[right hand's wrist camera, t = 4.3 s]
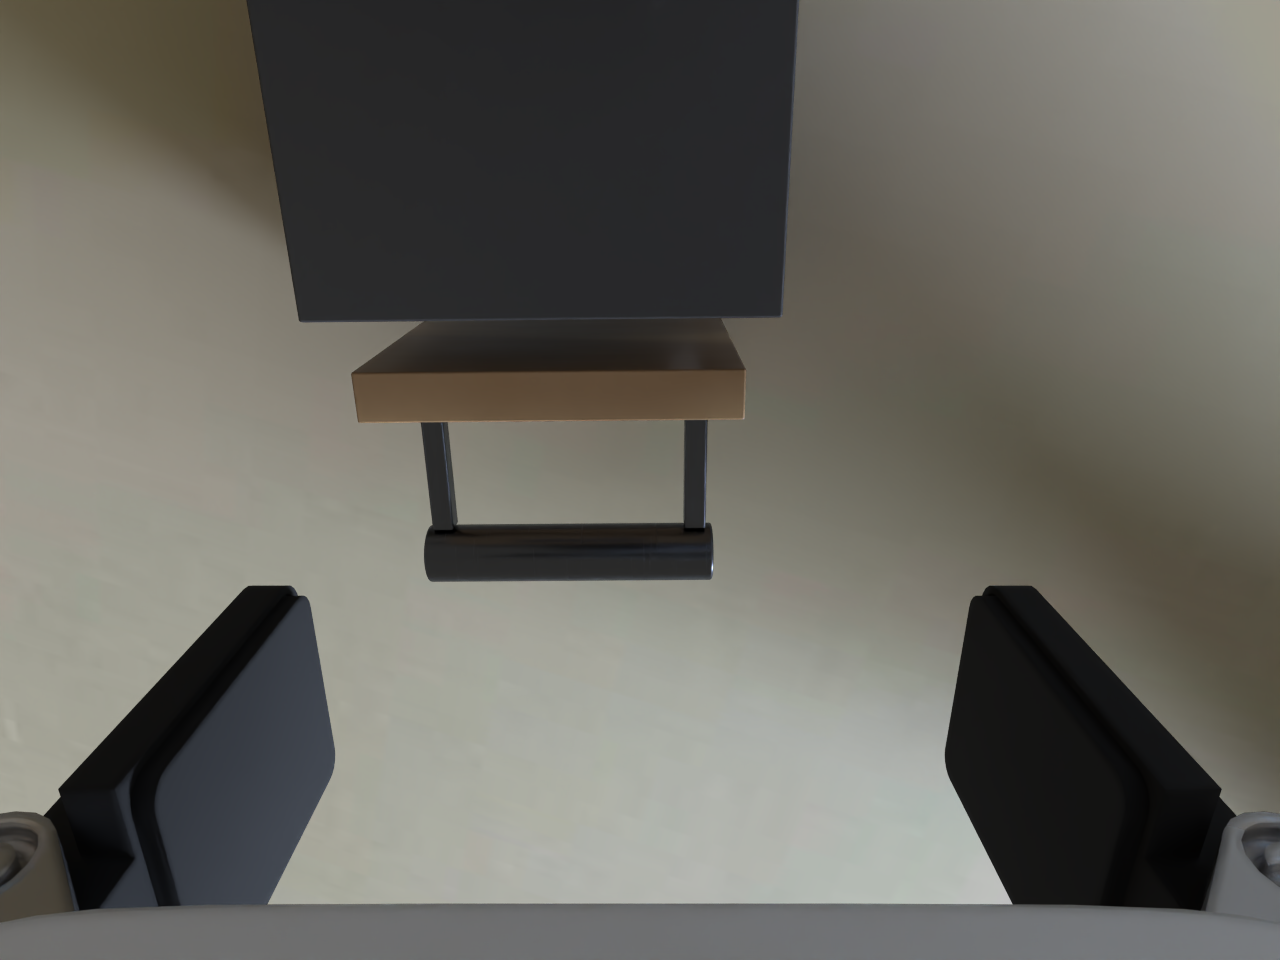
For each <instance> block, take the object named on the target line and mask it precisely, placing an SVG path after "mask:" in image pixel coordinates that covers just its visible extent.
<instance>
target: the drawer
mask: <svg viewBox="0 0 1280 960" xmlns="http://www.w3.org/2000/svg"><path fill="white" fill-rule="evenodd" d="M351 376H352V383H353V390H354V397H355V404H356V411H357V418H358V422H359V423H401V422H421V428H422V436H423V445H424V454H425V462H426V471H427V480H428V489H429V497H430V506H431V515H432V524H433V525H432V526H430V527H429V529H428V531H427V535H426V539H425V546H424V563H425V570H426V574H427V577H428V579H429V580H430V581H432V582H461V581H599V580H710V579H711V578H712V575H713V533H712V526H711V524H710V523H705V522H706V472H707V422H708V420H732V419H744V417H745V390H746V369H745V367H744V365H743V363H742V361H741V359H740V357H739V355H738V353H737V351H736V349H735V347H734V344H733V342H732V340H731V338H730V336H729V334H728V332H727V330H726V328H725V326H724V324H723V322H722V320H721V318H677V319H579V320H481V321H424V322H422V323H421V324H420V325H418V326H417V327H415V328H414V329H413V330H411V331H410V332H408V333H407V334H406V335H404V336H403V337H401V338H400V339H399V340H397V341H396V342H394V343H393V344H392V345H390V346H389V347H387V348H386V349H385V350H383V351H382V352H380V353H379V354H378V355H376V356H375V357H373V358H372V359H371V360H369V361H368V362H366V363H365V364H364V365H362V366H361V367H359V368H358V369H357V370H355V371H354V372H352V374H351ZM622 420H684V511H683V521H684V523H602V524H475V525H456V524H457V522H458V520H457V510H456V500H455V490H454V481H453V471H452V461H451V451H450V441H449V432H448V422H511V421H622Z"/></svg>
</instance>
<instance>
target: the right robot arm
mask: <svg viewBox="0 0 1280 960" xmlns="http://www.w3.org/2000/svg"><path fill="white" fill-rule="evenodd" d="M334 763H335V748H334V742H333V736H332V730H331V724H330V718H329V712H328V706H327V701H326V695H325V689H324V683H323V677H322V671H321V665H320V660H319V654H318V648H317V642H316V636H315V630H314V624H313V618H312V613H311V607H310V603H309V600H308V599H307V597H305V596H298V595H297V592H296V591H295V589H294V588H293V587H292V586H248V587H246V588H245V589H244V590H243V591H242V592H241V593H240V594H239V595H238V596H237V597H236V598H235V599H234V600H233V601H232V603H231V604H230V605H229V606H228V607H227V608H226V609H225V610H224V611H223V612H222V613H221V614H220V615H219V617H218V618H217V619H216V620H215V621H214V622H213V623H212V624H211V625H210V626H209V627H208V628H207V629H206V631H205V632H204V633H203V634H202V635H201V636H200V637H199V638H198V639H197V640H196V641H195V642H194V643H193V645H192V646H191V647H190V648H189V649H188V650H187V651H186V652H185V653H184V654H183V655H182V656H181V657H180V659H179V660H178V661H177V662H176V663H175V664H174V665H173V666H172V667H171V668H170V669H169V670H168V671H167V673H166V674H165V675H164V676H163V677H162V678H161V679H160V680H159V681H158V682H157V683H156V684H155V686H154V687H153V688H152V689H151V690H150V691H149V692H148V693H147V694H146V695H145V696H144V697H143V698H142V700H141V701H140V702H139V703H138V704H137V705H136V706H135V707H134V708H133V709H132V710H131V711H130V712H129V714H128V715H127V716H126V717H125V718H124V719H123V720H122V721H121V722H120V723H119V724H118V725H117V726H116V728H115V729H114V730H113V731H112V732H111V733H110V734H109V735H108V736H107V737H106V738H105V739H104V740H103V742H102V743H101V744H100V745H99V746H98V747H97V748H96V749H95V750H94V751H93V752H92V753H91V754H90V756H89V757H88V758H87V759H86V760H85V761H84V762H83V763H82V764H81V765H80V766H79V767H78V768H77V770H76V771H75V772H74V773H73V774H72V775H71V776H70V777H69V778H68V779H67V780H66V781H65V782H64V784H63V785H62V786H61V787H60V788H59V789H58V790H59V793H60V796H61V797H60V798H59V799H58V800H57V802H56V803H55V804H54V805H53V806H52V807H51V808H50V809H49V810H48V811H47V813H46V814H45V815H44V816H42V815H40V814H37V813H32V812H18V811H15V812H8V813H2V814H0V960H1280V814H1278V813H1272V812H1265V811H1262V812H1248V813H1243V814H1240V815H1238V816H1236V815H1235V814H1234V813H1233V811H1232V810H1231V809H1230V808H1229V807H1228V806H1227V805H1226V804H1225V803H1224V802H1223V800H1222V799H1221V798H1220V797H1219V796H1220V793H1221V790H1222V789H1221V788H1220V787H1219V786H1218V785H1217V784H1216V782H1215V781H1214V780H1213V779H1212V778H1211V777H1210V776H1209V775H1208V774H1207V773H1206V772H1205V771H1204V770H1203V768H1202V767H1201V766H1200V765H1199V764H1198V763H1197V762H1196V761H1195V760H1194V759H1193V758H1192V757H1191V756H1190V754H1189V753H1188V752H1187V751H1186V750H1185V749H1184V748H1183V747H1182V746H1181V745H1180V744H1179V743H1178V742H1177V740H1176V739H1175V738H1174V737H1173V736H1172V735H1171V734H1170V733H1169V732H1168V731H1167V730H1166V729H1165V728H1164V726H1163V725H1162V724H1161V723H1160V722H1159V721H1158V720H1157V719H1156V718H1155V717H1154V716H1153V715H1152V714H1151V712H1150V711H1149V710H1148V709H1147V708H1146V707H1145V706H1144V705H1143V704H1142V703H1141V702H1140V701H1139V700H1138V698H1137V697H1136V696H1135V695H1134V694H1133V693H1132V692H1131V691H1130V690H1129V689H1128V688H1127V687H1126V686H1125V684H1124V683H1123V682H1122V681H1121V680H1120V679H1119V678H1118V677H1117V676H1116V675H1115V674H1114V673H1113V672H1112V670H1111V669H1110V668H1109V667H1108V666H1107V665H1106V664H1105V663H1104V662H1103V661H1102V660H1101V659H1100V657H1099V656H1098V655H1097V654H1096V653H1095V652H1094V651H1093V650H1092V649H1091V648H1090V647H1089V646H1088V645H1087V643H1086V642H1085V641H1084V640H1083V639H1082V638H1081V637H1080V636H1079V635H1078V634H1077V633H1076V632H1075V631H1074V629H1073V628H1072V627H1071V626H1070V625H1069V624H1068V623H1067V622H1066V621H1065V620H1064V619H1063V618H1062V617H1061V615H1060V614H1059V613H1058V612H1057V611H1056V610H1055V609H1054V608H1053V607H1052V606H1051V605H1050V604H1049V603H1048V601H1047V600H1046V599H1045V598H1044V597H1043V596H1042V595H1041V594H1040V593H1039V592H1038V591H1037V590H1036V589H1035V588H1034V587H1032V586H988V587H987V588H986V589H985V591H984V592H983V595H982V596H975V597H973V599H972V600H971V603H970V607H969V613H968V618H967V624H966V630H965V636H964V642H963V648H962V654H961V659H960V665H959V671H958V677H957V683H956V689H955V695H954V701H953V706H952V712H951V718H950V724H949V730H948V736H947V742H946V748H945V763H946V769H947V773H948V776H949V778H950V780H951V782H952V784H953V786H954V788H955V790H956V792H957V794H958V796H959V798H960V800H961V802H962V804H963V806H964V808H965V810H966V812H967V814H968V816H969V818H970V820H971V822H972V824H973V826H974V828H975V830H976V832H977V834H978V836H979V838H980V840H981V842H982V844H983V846H984V848H985V850H986V852H987V854H988V856H989V858H990V860H991V862H992V864H993V866H994V868H995V870H996V872H997V874H998V876H999V878H1000V880H1001V882H1002V884H1003V886H1004V888H1005V890H1006V892H1007V894H1008V896H1009V898H1010V900H1011V902H1012V904H1013V905H1008V904H272V905H267V904H268V902H269V900H270V898H271V896H272V894H273V892H274V890H275V888H276V886H277V884H278V882H279V880H280V878H281V876H282V874H283V872H284V870H285V868H286V866H287V864H288V862H289V860H290V858H291V856H292V854H293V852H294V850H295V848H296V846H297V844H298V842H299V840H300V838H301V836H302V834H303V832H304V830H305V828H306V826H307V824H308V822H309V820H310V818H311V816H312V814H313V812H314V810H315V808H316V806H317V804H318V802H319V800H320V798H321V796H322V794H323V792H324V790H325V788H326V786H327V784H328V782H329V780H330V778H331V776H332V773H333V769H334Z"/></svg>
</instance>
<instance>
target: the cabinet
mask: <svg viewBox="0 0 1280 960" xmlns="http://www.w3.org/2000/svg"><path fill="white" fill-rule="evenodd" d="M247 6H248V12H249V18H250V24H251V30H252V36H253V43H254V49H255V55H256V61H257V67H258V73H259V79H260V85H261V91H262V97H263V104H264V110H265V116H266V122H267V128H268V134H269V140H270V146H271V152H272V158H273V165H274V171H275V177H276V183H277V189H278V195H279V201H280V207H281V213H282V220H283V226H284V232H285V238H286V244H287V250H288V256H289V262H290V268H291V274H292V281H293V287H294V293H295V299H296V305H297V311H298V317H299V321H300V322H383V321H481V320H579V319H677V318H775V317H781V316H782V313H783V294H784V275H785V256H786V237H787V218H788V199H789V180H790V161H791V142H792V123H793V104H794V85H795V66H796V47H797V28H798V9H799V0H247Z"/></svg>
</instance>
